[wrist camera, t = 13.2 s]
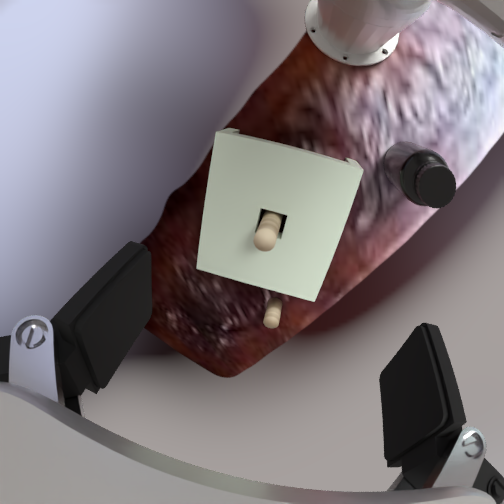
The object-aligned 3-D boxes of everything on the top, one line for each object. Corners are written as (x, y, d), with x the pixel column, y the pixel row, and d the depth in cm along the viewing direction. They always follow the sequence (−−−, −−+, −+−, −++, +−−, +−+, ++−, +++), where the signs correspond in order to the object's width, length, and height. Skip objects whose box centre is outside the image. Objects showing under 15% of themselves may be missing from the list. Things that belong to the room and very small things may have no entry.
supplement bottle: (424, 188, 36) (459, 220, 25) (382, 186, 37) (406, 218, 27) (427, 142, 33) (466, 159, 22) (382, 138, 34) (410, 153, 24)
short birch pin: (271, 295, 50) (266, 315, 46) (284, 300, 50) (280, 320, 46) (266, 305, 51) (261, 325, 47) (279, 310, 51) (275, 330, 47)
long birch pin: (269, 197, 42) (255, 229, 32) (286, 202, 41) (277, 235, 32) (265, 213, 43) (251, 248, 33) (282, 217, 43) (272, 254, 33)
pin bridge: (229, 127, 38) (216, 131, 32) (356, 160, 36) (363, 170, 31) (209, 249, 48) (196, 268, 43) (315, 279, 47) (314, 301, 41)
